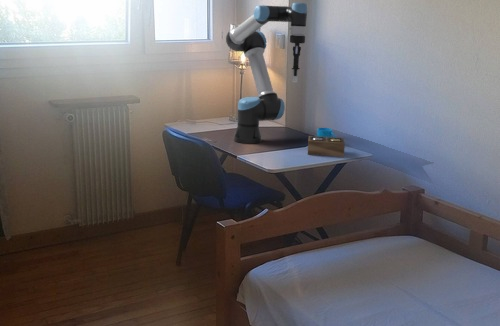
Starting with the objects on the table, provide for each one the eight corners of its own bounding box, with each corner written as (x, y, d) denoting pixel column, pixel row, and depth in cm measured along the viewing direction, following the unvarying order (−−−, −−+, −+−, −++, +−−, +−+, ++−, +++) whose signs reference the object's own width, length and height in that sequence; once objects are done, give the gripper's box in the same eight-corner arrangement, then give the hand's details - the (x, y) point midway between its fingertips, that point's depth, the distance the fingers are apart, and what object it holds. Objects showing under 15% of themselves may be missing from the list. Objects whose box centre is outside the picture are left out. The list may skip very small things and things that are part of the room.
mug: (313, 143, 311) (314, 128, 309) (323, 141, 317) (324, 127, 314) (330, 147, 303) (331, 132, 300) (339, 145, 308) (341, 131, 306)
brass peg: (329, 151, 294) (330, 138, 292) (338, 151, 293) (340, 138, 291) (329, 153, 289) (330, 140, 287) (339, 154, 288) (340, 141, 286)
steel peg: (311, 149, 294) (312, 137, 293) (321, 150, 294) (322, 137, 292) (311, 152, 290) (312, 139, 288) (321, 152, 289) (322, 139, 287)
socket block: (307, 148, 298) (308, 135, 296) (342, 151, 296) (343, 137, 294) (307, 154, 286) (308, 140, 285) (343, 156, 285) (344, 142, 283)
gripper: (290, 34, 290) (288, 80, 296) (289, 35, 278) (286, 83, 284) (305, 34, 289) (302, 81, 296) (305, 35, 277) (301, 84, 283)
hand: (294, 82), depth 290 cm, fingers closed
